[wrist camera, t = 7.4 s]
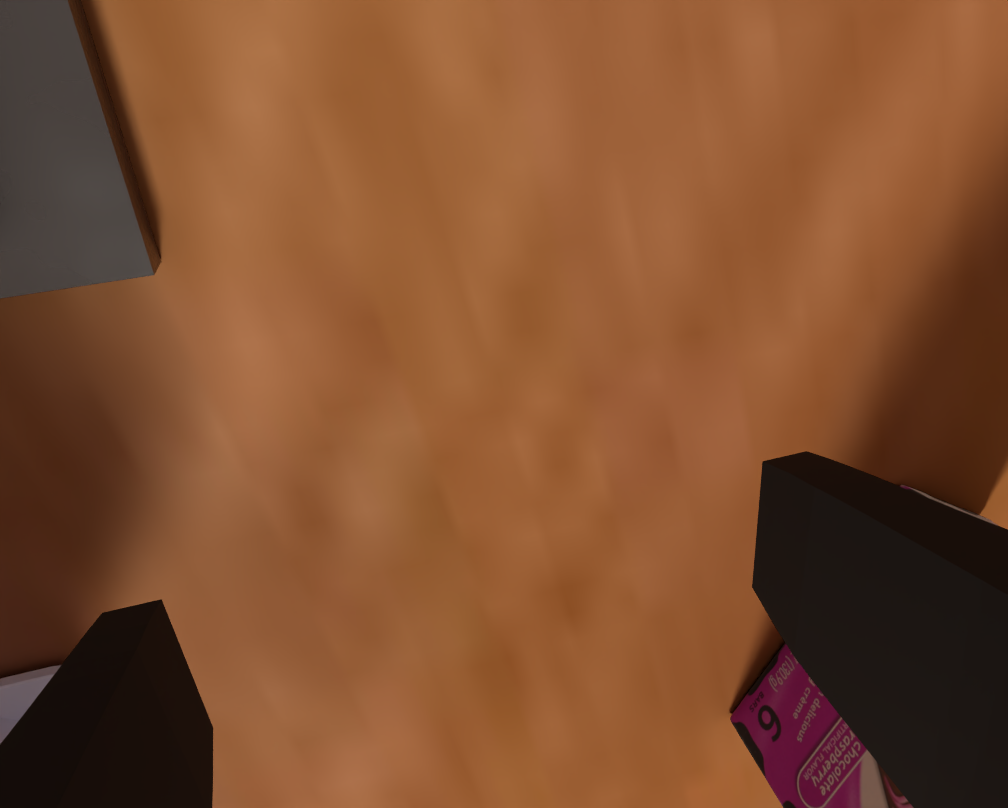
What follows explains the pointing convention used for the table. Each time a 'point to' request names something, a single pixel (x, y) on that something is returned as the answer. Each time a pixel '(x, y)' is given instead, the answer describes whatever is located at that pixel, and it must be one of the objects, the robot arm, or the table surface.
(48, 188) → the jack housing
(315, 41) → the table surface
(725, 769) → the table surface
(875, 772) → the candy bar box
